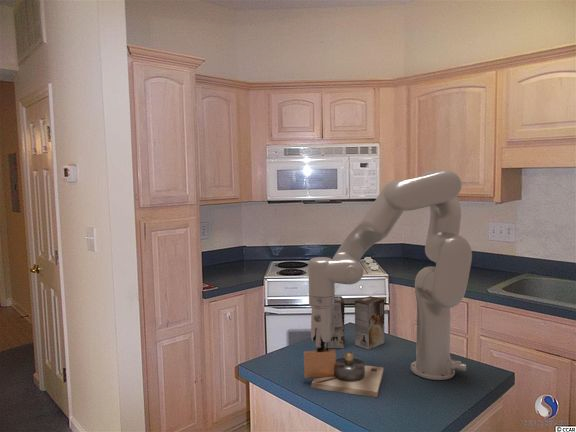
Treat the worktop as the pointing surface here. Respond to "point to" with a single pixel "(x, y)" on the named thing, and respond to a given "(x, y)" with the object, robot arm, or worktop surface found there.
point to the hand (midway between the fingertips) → (322, 361)
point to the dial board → (353, 383)
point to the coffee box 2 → (369, 322)
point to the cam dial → (333, 365)
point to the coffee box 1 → (338, 324)
